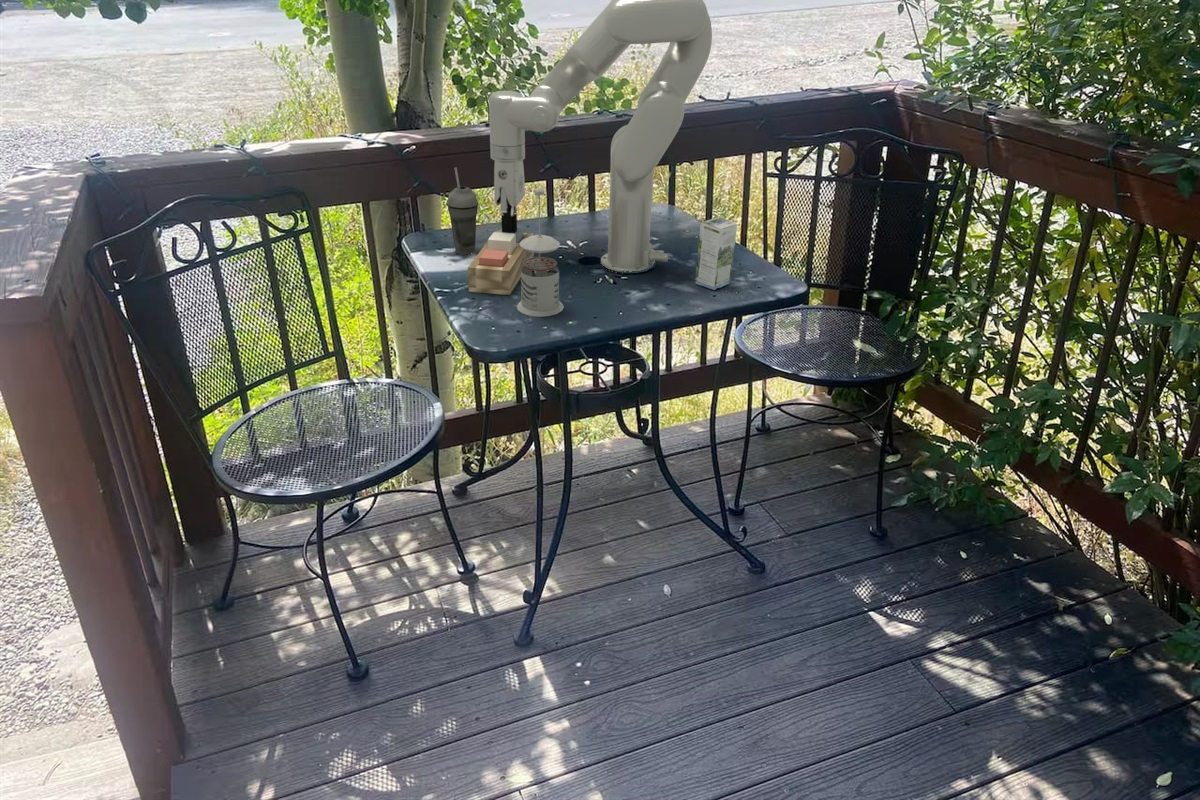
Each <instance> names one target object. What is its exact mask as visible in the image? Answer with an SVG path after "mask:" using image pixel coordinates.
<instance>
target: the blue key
mask: <svg viewBox="0 0 1200 800" xmlns="http://www.w3.org/2000/svg"><path fill="white" fill-rule="evenodd" d="M498 231H499V232H500V233H507V232H502V227H501V228H500V229H499V230H498ZM523 232H524V228H519V227H517V231H516V232H515V233H513V234H516V243H520V242H521V240H522V239H523V237H524V236H523Z"/></svg>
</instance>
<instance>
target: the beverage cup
mask: <svg viewBox="0 0 1200 800" xmlns="http://www.w3.org/2000/svg"><path fill="white" fill-rule="evenodd" d="M454 172H455V173H454V174H455V179H456V185H457V187H454V188H452V190H451V191H450V192H449V195H448V196H447V204H446V206H447V209H448V214H449V218H450V224H451V232H452V237H453V238H452V239H453V244H454V245H453V246H454V249H455V253H456V254H457V253H458V254H457V255H460V254H462V255H461V256H467V255H466V254H470V255H472V254H471V253H473V254H475V252H476V240H477V239H476V237H477V214H478V210H479V209H478V208H479V207H478V206H479V202H478V197H477V195H476V193H475V191H473V190H472V189H471V188H470V187H467V186H464V185H462V186H461V185H460V180H459V173H458V168H457V167H454Z"/></svg>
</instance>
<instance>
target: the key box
mask: <svg viewBox="0 0 1200 800" xmlns="http://www.w3.org/2000/svg"><path fill="white" fill-rule="evenodd" d="M499 231H500V230H498V229H497V230H495V231H494V232H499ZM533 235H535V232H524V231H523V236H524V237H523V239H522V240H524V239H526V238H528V237H530V236H533ZM522 240H521V241H522ZM485 250H488V241H486V243H485V244H484V246H482V248H481V249H480V251H479V252H478V254H477V255H476V256H475V257H474V259H473V260H472V261H471V263H470V264H469V265H468V267H467V279H468V292H470V293H481V294H482V293H483V294H490V295H491V294H493V295H494V294H495V295H505V296H510V295H511V294H512V292H513V291H514V289H515V288H516V286H517V284H518V283H519V281H520V280H521V269H522V267H523V264H522V262H523V261H524V260H525V250H524V249H523V248H522V247H521V246H520V244H519V243H516V249H515V251H514V252H513V254H512V255H508V261H507V263H506V264H505V266H504V267H493V266H481V265H479V257H480V256H481V255H482V253H483V252H484V251H485ZM531 257H532V252H529V251H526V259H527V258H531ZM533 257H535V254H534V255H533Z"/></svg>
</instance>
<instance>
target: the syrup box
mask: <svg viewBox="0 0 1200 800" xmlns="http://www.w3.org/2000/svg"><path fill="white" fill-rule="evenodd" d="M699 227H700V228H699V235H698V236H699V237H698V247H697V254H696V255H697V256H696V265H695V266H696V267H695V275H694V276H695V277H694V281H695V280H697V281H699V282H701V283H704V284H706V285H710V286H713V287H716V286H718V285H719V284H722V283H724V282H726V281H728V280H730V281H731V278H732V267H733V263H734V261H733V260H734V253H735V246H736V245H735V244H736V236H737V228H738V224H737V223H736V222H734V221H732V220H729V219H727V218H723V217H720V216H719V217H718V216H717V217H716V216H715V217H714V218H711V219H707V220H705V221H702V222H700V225H699Z"/></svg>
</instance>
